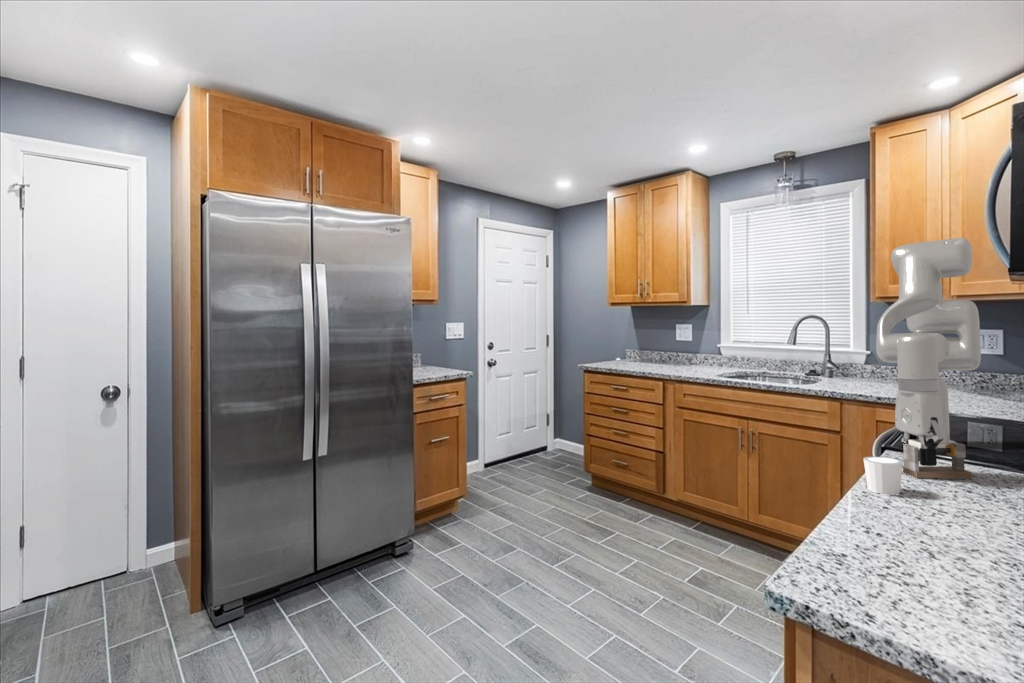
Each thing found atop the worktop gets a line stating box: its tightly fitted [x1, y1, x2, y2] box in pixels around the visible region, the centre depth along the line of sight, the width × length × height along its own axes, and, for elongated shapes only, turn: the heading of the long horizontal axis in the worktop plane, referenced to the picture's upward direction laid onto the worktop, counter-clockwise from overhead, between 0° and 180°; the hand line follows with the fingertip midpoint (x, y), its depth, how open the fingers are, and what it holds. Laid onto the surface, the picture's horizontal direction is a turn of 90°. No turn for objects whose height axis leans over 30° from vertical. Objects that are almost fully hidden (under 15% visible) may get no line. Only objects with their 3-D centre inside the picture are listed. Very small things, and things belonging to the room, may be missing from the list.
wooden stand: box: [902, 442, 972, 480], centre depth 118 cm, size 5×12×8 cm, turn 82°
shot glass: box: [863, 456, 903, 496], centre depth 108 cm, size 7×7×7 cm
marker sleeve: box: [908, 439, 922, 462], centre depth 118 cm, size 4×2×4 cm, turn 172°
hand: (920, 461), depth 118 cm, fingers closed on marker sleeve, 4 cm apart
